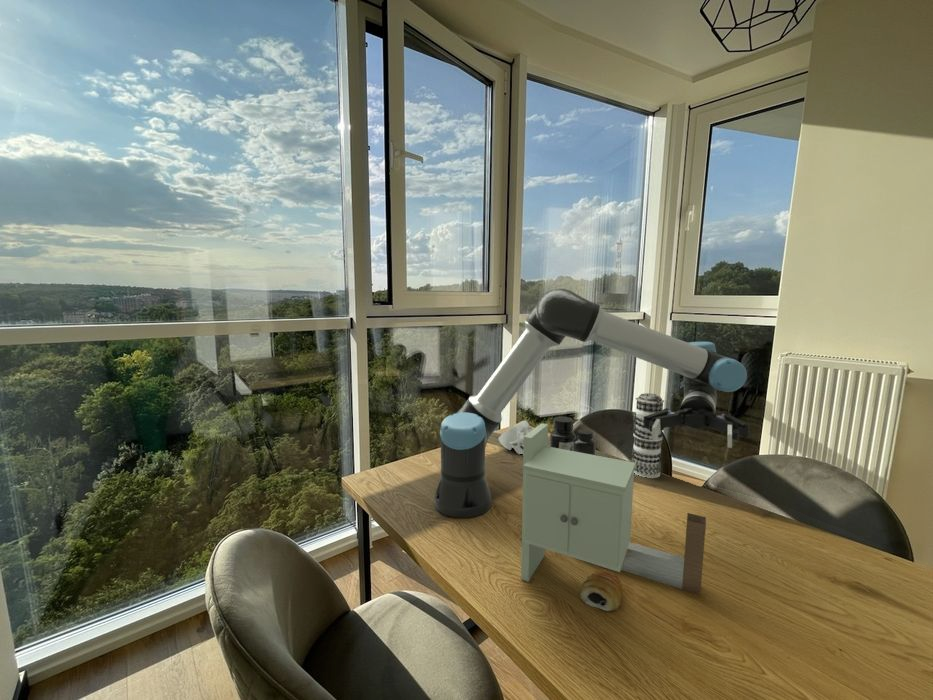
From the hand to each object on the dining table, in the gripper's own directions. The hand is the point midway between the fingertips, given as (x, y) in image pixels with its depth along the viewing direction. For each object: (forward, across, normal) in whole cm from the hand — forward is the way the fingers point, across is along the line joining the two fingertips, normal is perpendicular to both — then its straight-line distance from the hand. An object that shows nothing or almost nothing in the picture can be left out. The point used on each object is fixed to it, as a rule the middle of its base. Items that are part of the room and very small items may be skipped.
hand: (690, 437), depth 84 cm
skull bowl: (-37, +58, -24) cm, 73 cm away
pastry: (+21, +13, -25) cm, 36 cm away
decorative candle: (-41, +16, -27) cm, 52 cm away
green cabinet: (+22, +18, -24) cm, 38 cm away
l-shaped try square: (+10, +10, -25) cm, 29 cm away
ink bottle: (-44, +44, -25) cm, 67 cm away
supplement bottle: (-34, +34, -25) cm, 54 cm away
